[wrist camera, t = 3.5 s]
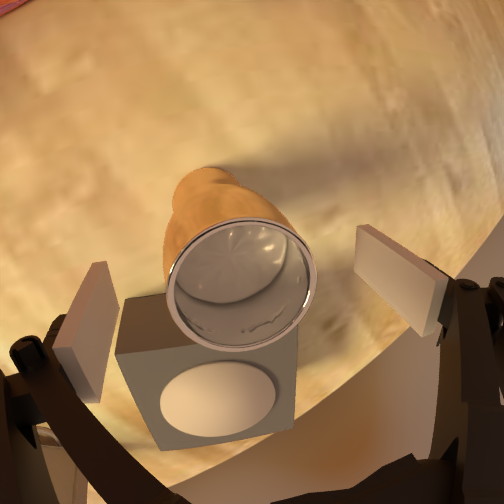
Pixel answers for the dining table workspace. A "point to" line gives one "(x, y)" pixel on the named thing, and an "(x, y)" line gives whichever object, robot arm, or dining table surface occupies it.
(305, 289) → the beer glass
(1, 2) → the spiral basket
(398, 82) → the dining table surface
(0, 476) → the robot arm
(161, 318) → the plate
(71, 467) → the network device
